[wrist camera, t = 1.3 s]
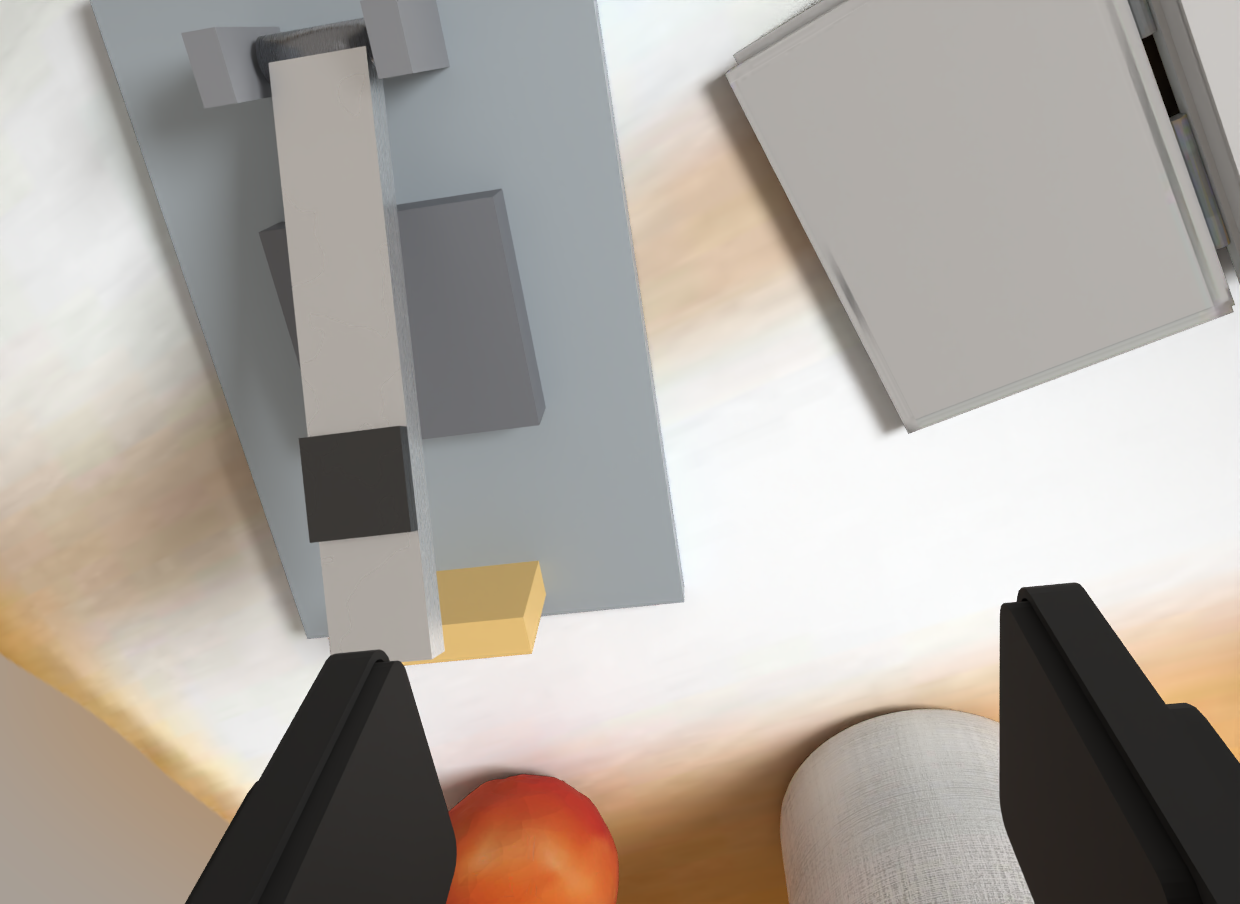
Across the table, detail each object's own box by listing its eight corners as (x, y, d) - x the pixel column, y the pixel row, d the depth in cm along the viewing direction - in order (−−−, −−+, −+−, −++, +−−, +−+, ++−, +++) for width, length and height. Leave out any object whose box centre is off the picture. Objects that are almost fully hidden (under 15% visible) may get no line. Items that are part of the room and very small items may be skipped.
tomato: (598, 728, 43) (581, 872, 36) (644, 876, 46) (637, 1034, 39) (405, 758, 44) (350, 902, 37) (464, 899, 48) (424, 1056, 41)
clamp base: (106, -9, 32) (-10, -16, 26) (581, -98, 30) (559, -124, 24) (317, 622, 41) (264, 710, 36) (684, 586, 40) (684, 672, 34)
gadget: (902, 426, 37) (925, 466, 33) (716, 64, 32) (720, 68, 29) (1559, 106, 31) (1667, 116, 28) (1453, -395, 26) (1567, -457, 23)
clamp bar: (275, 48, 29) (244, 19, 28) (387, 28, 29) (363, -2, 27) (340, 660, 29) (313, 674, 27) (455, 649, 29) (435, 662, 27)
